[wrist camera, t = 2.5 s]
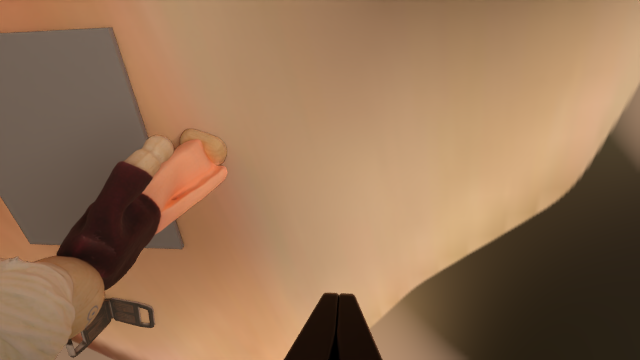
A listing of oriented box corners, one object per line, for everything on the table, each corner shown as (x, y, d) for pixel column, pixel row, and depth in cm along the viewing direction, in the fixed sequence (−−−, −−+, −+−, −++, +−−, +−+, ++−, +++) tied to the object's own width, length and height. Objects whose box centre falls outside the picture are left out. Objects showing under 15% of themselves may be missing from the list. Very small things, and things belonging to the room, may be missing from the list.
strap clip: (64, 303, 27) (17, 349, 24) (55, 280, 26) (5, 325, 22) (157, 324, 27) (126, 373, 24) (155, 302, 26) (121, 351, 22)
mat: (111, 27, 15) (107, 27, 15) (184, 246, 22) (181, 249, 22) (-92, 38, 17) (-100, 38, 16) (34, 241, 23) (30, 243, 23)
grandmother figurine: (219, 215, 20) (57, 459, 9) (163, 195, 20) (-76, 423, 9) (247, 109, 17) (33, 303, 6) (178, 81, 16) (-195, 231, 5)
